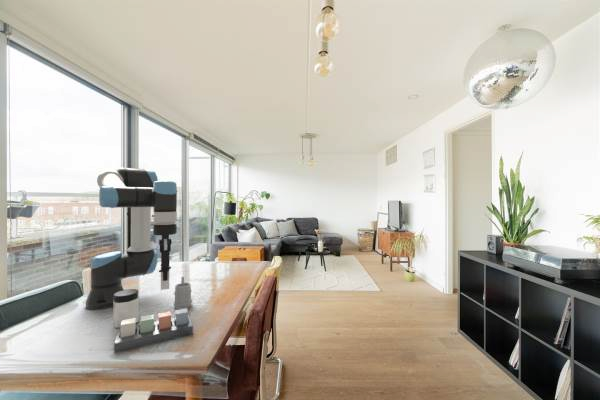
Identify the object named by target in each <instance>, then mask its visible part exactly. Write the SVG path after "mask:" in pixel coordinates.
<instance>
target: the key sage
mask: <svg viewBox="0 0 600 400" xmlns="http://www.w3.org/2000/svg"><path fill="white" fill-rule="evenodd" d="M154 321H155V314H148V315H143V316H140V319H139V324H140V334H141V333H145V332H150V331H154Z"/></svg>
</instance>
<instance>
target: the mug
mask: <svg viewBox="0 0 600 400" xmlns="http://www.w3.org/2000/svg"><path fill="white" fill-rule="evenodd" d="M180 277H181V280H180V281H181V282H180V283H177V284H176V285H175V288H174V289H175V290H174V292H173V294H174V302H173V306H174V309H175V310H180V309H185V308H187V309H188V308H191V307H192V303H193V300H192V289H191V287H192V286H191V283H190V282H185V276H180Z"/></svg>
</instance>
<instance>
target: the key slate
mask: <svg viewBox="0 0 600 400" xmlns="http://www.w3.org/2000/svg"><path fill="white" fill-rule="evenodd" d="M174 312H175V313H174V315H175V316H174V317H175V324H176V326H178V325H182V324H187V323H188V315H189V311H188V308H185V309H175V310H174Z"/></svg>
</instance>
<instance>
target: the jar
mask: <svg viewBox="0 0 600 400" xmlns="http://www.w3.org/2000/svg"><path fill="white" fill-rule="evenodd" d="M112 307H113V310H112V311H113V312H112V315H113V316H112V322H113V323H112V324H113V327H114V328H115V329H117V328H118V329H119V328H121V322H122V320H126V319H132V318H136V323H139V322H140V309H139V308H140V297H139V290H138V289H135V288H131V289H128V288H127V289H124V290H122V291H119V292H116V293H115V294H114V300H113V306H112Z"/></svg>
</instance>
